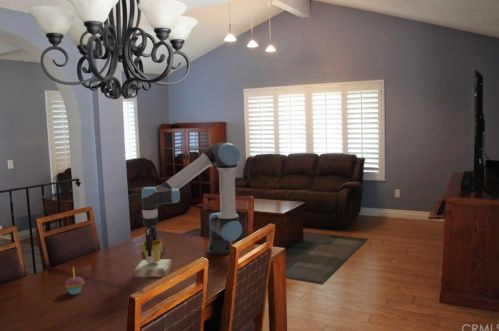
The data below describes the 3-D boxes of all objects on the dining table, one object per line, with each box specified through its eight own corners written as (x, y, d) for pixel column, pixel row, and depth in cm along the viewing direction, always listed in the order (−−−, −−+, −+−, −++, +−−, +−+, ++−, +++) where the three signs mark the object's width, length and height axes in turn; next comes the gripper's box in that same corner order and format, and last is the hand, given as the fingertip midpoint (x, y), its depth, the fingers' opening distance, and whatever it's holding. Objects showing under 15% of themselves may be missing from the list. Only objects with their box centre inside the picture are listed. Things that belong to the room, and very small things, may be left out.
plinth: (171, 265, 235) (171, 258, 234) (165, 276, 219) (165, 268, 219) (142, 266, 235) (141, 259, 235) (134, 277, 219) (133, 269, 219)
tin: (144, 264, 238) (143, 249, 237) (141, 263, 240) (140, 248, 239) (165, 257, 250) (164, 242, 249) (161, 256, 252) (161, 242, 251)
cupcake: (65, 290, 205) (63, 266, 203) (84, 287, 208) (82, 263, 207) (65, 297, 197) (63, 271, 195) (85, 293, 200) (83, 268, 199)
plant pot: (138, 263, 224) (137, 245, 222) (150, 257, 233) (149, 239, 232) (155, 265, 220) (154, 246, 219) (166, 258, 229) (165, 240, 228)
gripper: (148, 212, 235) (150, 252, 238) (137, 222, 212) (140, 266, 215) (162, 211, 235) (164, 251, 238) (152, 222, 212) (155, 265, 215)
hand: (152, 258), depth 226 cm, fingers closed on plant pot, 10 cm apart
